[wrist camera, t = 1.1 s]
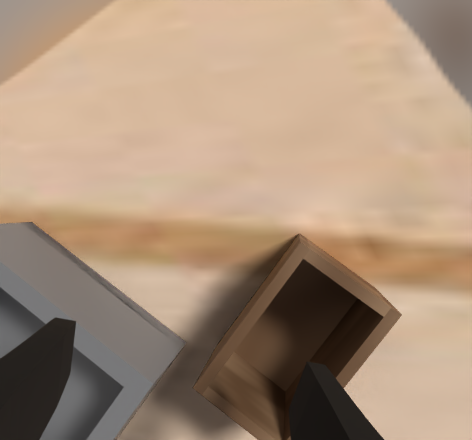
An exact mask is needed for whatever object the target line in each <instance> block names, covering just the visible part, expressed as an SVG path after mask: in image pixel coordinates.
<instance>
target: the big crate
mask: <svg viewBox="0 0 472 440" xmlns="http://www.w3.org/2000/svg"><path fill="white" fill-rule="evenodd" d="M55 317H57V318H62V319H68V320H74V321H76V328H75V337H74V346H73V355H72V363H71V372H70V376H69V379H68V381H67V384H66V386H65V389H64V391H63V394H62V396H61V398H60V401H59V403H58V406H57V408H56V410H55V412H54V414H53V415H52V417H51V419H50V421H49V423H48V425H47V427H46V428H45V430H44V432H43V434H42V436H41V438H40V439H39V440H116V439H117V438H118V437H119V435H120V434H121V433H122V431H123V430H124V428H125V427H126V426H127V424H128V423H129V422H130V420H131V419H132V417H133V416H134V415H135V413H136V412H137V410H138V409H139V408H140V406H141V405H142V404H143V402H144V401H145V399H146V398H147V397H148V395H149V394H150V393H151V391H152V390H153V388H154V387H155V386H156V384H157V383H158V381H159V380H160V379H161V377H162V376H163V375H164V373H165V372H166V370H167V369H168V368H169V366H170V365H171V364H172V362H173V361H174V359H175V358H176V357H177V355H178V354H179V352H180V351H181V350H182V348H183V347H184V346H185V344H186V342H185V341H184V340H183V339H181V338H180V337H179V336H177V335H176V334H175V333H174V332H172V331H171V330H170V329H169V328H167V327H166V326H165V325H163V324H162V323H161V322H160V321H158V320H157V319H156V318H154V317H153V316H152V315H151V314H149V313H148V312H147V311H145V310H144V309H143V308H142V307H140V306H139V305H138V304H136V303H135V302H134V301H133V300H131V299H130V298H129V297H127V296H126V295H125V294H124V293H122V292H121V291H120V290H118V289H117V288H116V287H115V286H113V285H112V284H111V283H109V282H108V281H107V280H106V279H104V278H103V277H102V276H100V275H99V274H98V273H97V272H95V271H94V270H93V269H91V268H90V267H89V266H88V265H86V264H85V263H84V262H82V261H81V260H80V259H79V258H77V257H76V256H75V255H73V254H72V253H71V252H70V251H68V250H67V249H66V248H64V247H63V246H62V245H61V244H59V243H58V242H57V241H55V240H54V239H53V238H52V237H50V236H49V235H48V234H46V233H45V232H44V231H43V230H41V229H40V228H39V227H37V226H36V225H35V224H34V223H32V222H25V223H7V224H0V358H2V357H3V356H5V355H6V354H7V353H9V352H10V351H11V350H13V349H14V348H16V347H17V346H18V345H20V344H21V343H22V342H24V341H25V340H26V339H27V338H29V337H30V336H31V335H33V334H34V333H35V332H37V331H38V330H39V329H40V328H42V327H43V326H44V325H45V324H47V323H48V322H49V321H50V320H52V319H54V318H55Z"/></svg>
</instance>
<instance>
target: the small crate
mask: <svg viewBox="0 0 472 440" xmlns="http://www.w3.org/2000/svg"><path fill="white" fill-rule="evenodd" d="M401 315H402V314H401V313H400V312H399V311H398V310H397V309H396V308H395V307H394V306H393V305H392V304H391V303H390V302H389V301H388V300H387V299H386V298H385V297H384V296H383V295H382V294H381V293H380V292H379V291H378V290H377V289H376V288H375V287H373V286H372V285H371V284H369V283H368V282H366V281H365V280H364V279H362V278H361V277H359V276H358V275H357V274H355V273H354V272H352V271H351V270H350V269H348V268H347V267H345V266H344V265H343V264H341V263H340V262H338V261H337V260H336V259H334V258H333V257H332V256H330V255H329V254H327V253H326V252H325V251H323V250H322V249H320V248H319V247H318V246H316V245H315V244H313V243H312V242H311V241H309V240H308V239H306V238H305V237H304V236H302V235H301V234H298V236H297V237H296V238H295V240H294V241H293V243H292V244H291V245H290V247H289V248H288V249H287V251H286V252H285V253H284V255H283V256H282V258H281V259H280V260H279V262H278V263H277V264H276V266H275V267H274V268H273V270H272V271H271V272H270V274H269V275H268V277H267V278H266V279H265V281H264V282H263V283H262V285H261V286H260V287H259V289H258V290H257V291H256V293H255V294H254V296H253V297H252V298H251V300H250V301H249V302H248V304H247V305H246V306H245V308H244V309H243V311H242V312H241V313H240V315H239V316H238V317H237V319H236V320H235V321H234V323H233V324H232V325H231V327H230V328H229V330H228V331H227V332H226V334H225V335H224V336H223V338H222V339H221V340H220V342H219V343H218V344H217V346H216V348H215V350H214V351H213V353H212V355H211V357H210V358H209V360H208V362H207V364H206V366H205V367H204V369H203V371H202V373H201V374H200V376H199V378H198V380H197V381H196V383H195V385H194V387H193V389H195V390H196V391H197V392H198V393H200V394H201V395H202V396H203V397H205V398H206V399H207V400H209V401H210V402H211V403H212V404H214V405H215V406H216V407H217V408H219V409H220V410H221V411H222V412H224V413H225V414H226V415H227V416H229V417H230V418H231V419H233V420H234V421H235V422H236V423H238V424H239V425H240V426H241V427H243V428H244V429H245V430H246V431H248V432H249V433H250V434H251V435H253V436H254V437H255V438H257V439H258V440H291V436H290V423H289V407H290V404H291V402H292V399H293V396H294V394H295V391H296V389H297V386H298V383H299V381H300V378H301V375H302V373H303V370H304V368H305V365H306V362H313V363H318V364H324V365H326V366H327V368H328V369H329V370H330V372H331V373H332V374H333V375H334V377H335V378H336V379H337V381H338V382H339V383H340V385H341V386H342V387H343V388H344V387H345V386H346V385H347V383H348V382H349V381H350V380H351V378H352V377H353V376H354V375H355V373H356V372H357V371H358V370H359V368H360V367H361V366H362V365H363V363H364V362H365V361H366V360H367V358H368V357H369V356H370V354H371V353H372V352H373V351H374V349H375V348H376V347H377V346H378V344H379V343H380V342H381V341H382V339H383V338H384V337H385V336H386V334H387V333H388V332H389V331H390V329H391V328H392V327H393V326H394V324H395V323H396V322H397V320H398V319H399V318H400V317H401Z"/></svg>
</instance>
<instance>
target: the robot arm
mask: <svg viewBox="0 0 472 440" xmlns="http://www.w3.org/2000/svg"><path fill="white" fill-rule="evenodd" d="M75 328H76V321H74V320H68V319H62V318H57V317H55V318H54V319H52V320H50V321H49V322H48V323H47V324H45V325H44V326H43V327H42V328H40V329H39V330H38V331H37V332H35V333H34V334H33V335H31V336H30V337H29V338H27V339H26V340H25V341H24V342H22V343H21V344H20V345H18V346H17V347H16V348H14V349H13V350H11V351H10V352H9V353H7V354H6V355H5V356H3V357H2V358H0V440H39V439H40V438H41V436H42V434H43V432H44V430H45V428H46V427H47V425H48V423H49V421H50V419H51V417H52V415H53V414H54V412H55V410H56V408H57V406H58V403H59V401H60V398H61V396H62V394H63V391H64V389H65V386H66V384H67V381H68V379H69V376H70V372H71V363H72V355H73V346H74V337H75ZM289 423H290V436H291V440H384V439H383V438H382V437H381V435H380V434H379V433H378V432H377V431H376V430H375V428H374V427H373V426H372V425H371V423H370V422H369V421H368V420H367V419H366V417H365V416H364V415H363V413H362V412H361V411H360V410H359V408H358V407H357V406H356V405H355V403H354V402H353V401H352V399H351V398H350V397H349V395H348V394H347V393H346V391H345V390H344V389H343V387H342V386H341V385H340V383H339V382H338V381H337V379H336V378H335V377H334V375H333V374H332V373H331V372H330V370H329V369H328V368H327V366H326V365H324V364H318V363H313V362H306V365H305V368H304V370H303V373H302V375H301V378H300V381H299V383H298V386H297V389H296V391H295V394H294V396H293V399H292V402H291V404H290V407H289Z"/></svg>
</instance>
